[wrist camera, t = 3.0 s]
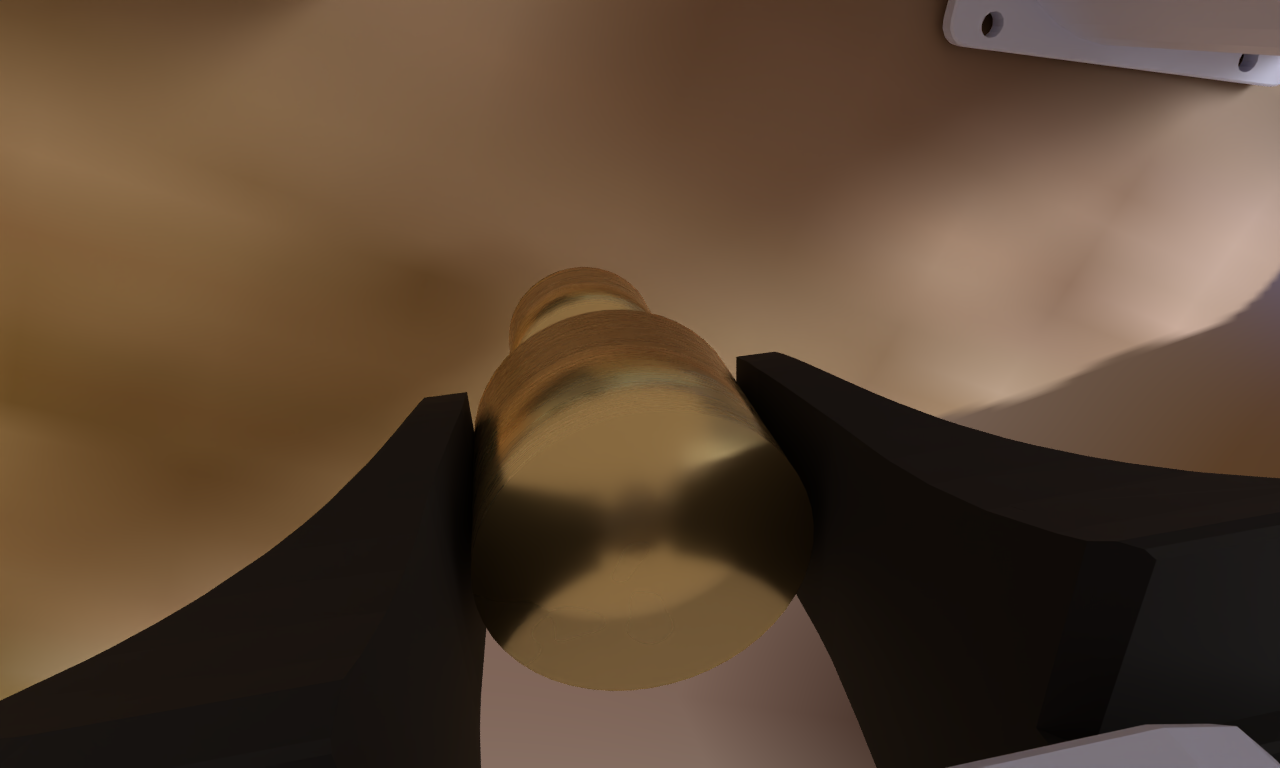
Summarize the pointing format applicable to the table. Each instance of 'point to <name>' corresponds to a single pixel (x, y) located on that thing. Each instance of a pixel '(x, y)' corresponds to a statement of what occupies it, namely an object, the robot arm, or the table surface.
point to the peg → (626, 495)
